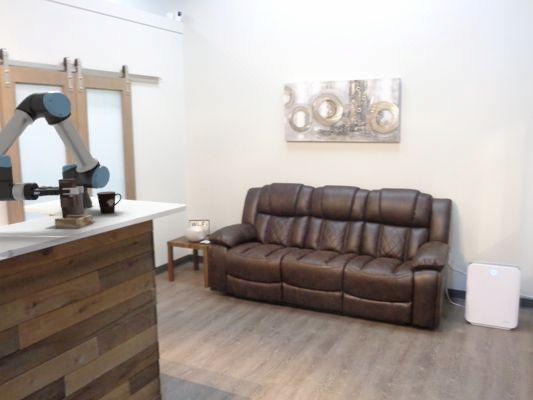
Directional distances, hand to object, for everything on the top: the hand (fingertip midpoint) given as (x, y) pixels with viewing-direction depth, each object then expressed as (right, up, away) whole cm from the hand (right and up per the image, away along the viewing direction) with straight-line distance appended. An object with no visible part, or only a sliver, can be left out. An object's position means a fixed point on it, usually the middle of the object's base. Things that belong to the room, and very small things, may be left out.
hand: (80, 190), depth 213 cm
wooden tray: (-3, -15, +2) cm, 16 cm away
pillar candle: (-12, -13, +24) cm, 29 cm away
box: (-5, -7, +1) cm, 9 cm away
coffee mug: (+2, -11, +34) cm, 35 cm away
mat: (-5, -15, +3) cm, 16 cm away
